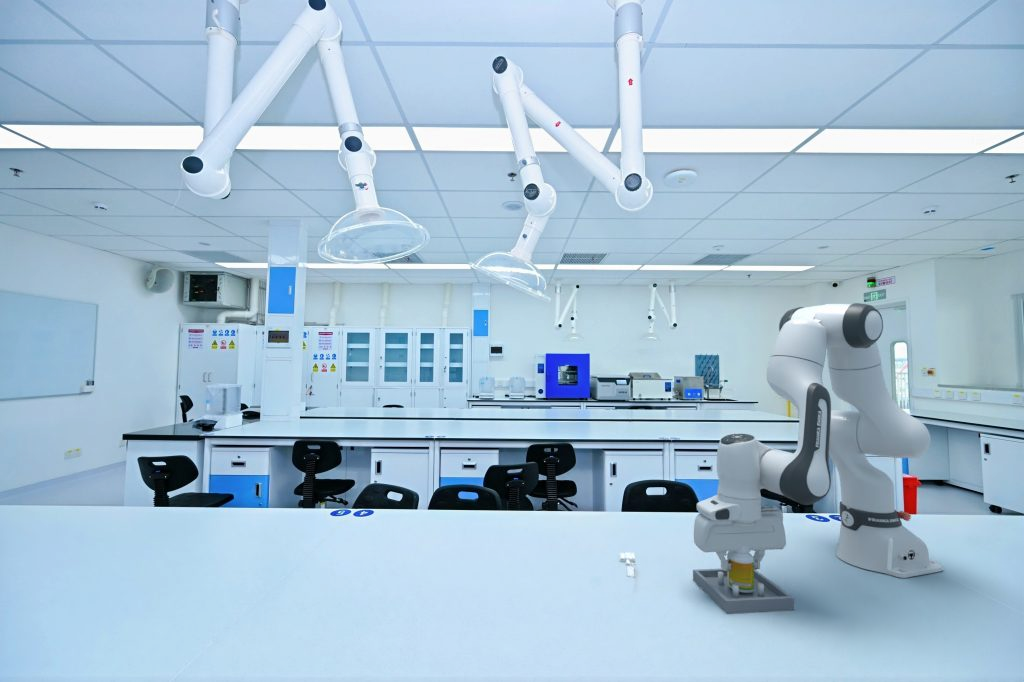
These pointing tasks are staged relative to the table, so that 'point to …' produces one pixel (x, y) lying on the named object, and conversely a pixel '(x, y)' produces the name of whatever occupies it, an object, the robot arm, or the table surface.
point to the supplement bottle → (741, 570)
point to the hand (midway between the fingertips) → (740, 569)
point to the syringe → (628, 562)
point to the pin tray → (734, 601)
